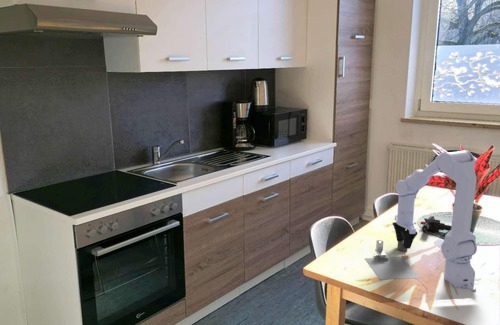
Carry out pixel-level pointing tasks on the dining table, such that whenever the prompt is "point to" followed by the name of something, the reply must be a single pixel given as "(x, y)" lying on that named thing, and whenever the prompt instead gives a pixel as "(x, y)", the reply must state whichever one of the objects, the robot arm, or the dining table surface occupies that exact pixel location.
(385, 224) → the dining table surface
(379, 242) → the bolt
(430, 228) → the black power drill
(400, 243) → the lid
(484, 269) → the dining table surface
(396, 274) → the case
